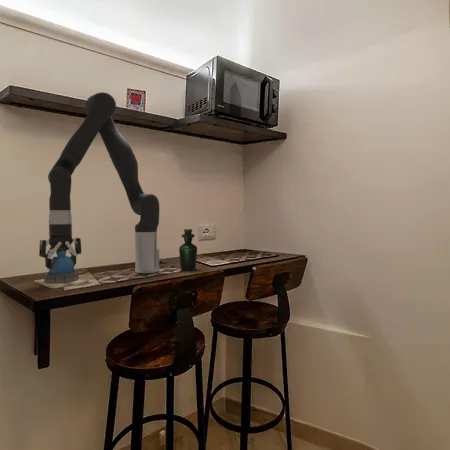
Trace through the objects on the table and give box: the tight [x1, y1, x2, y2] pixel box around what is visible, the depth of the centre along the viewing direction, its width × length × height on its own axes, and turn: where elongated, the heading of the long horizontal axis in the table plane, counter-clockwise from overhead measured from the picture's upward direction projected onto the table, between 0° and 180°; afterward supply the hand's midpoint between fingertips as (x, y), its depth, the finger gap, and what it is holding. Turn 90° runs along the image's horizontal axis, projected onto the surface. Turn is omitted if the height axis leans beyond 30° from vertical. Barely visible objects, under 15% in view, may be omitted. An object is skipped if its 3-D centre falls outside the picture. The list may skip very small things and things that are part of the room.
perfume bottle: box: [48, 248, 75, 275], centre depth 129 cm, size 6×6×12 cm
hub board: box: [33, 269, 90, 289], centre depth 130 cm, size 13×15×4 cm
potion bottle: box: [178, 228, 198, 272], centre depth 158 cm, size 8×8×18 cm
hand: (61, 267), depth 129 cm, fingers open, 8 cm apart
